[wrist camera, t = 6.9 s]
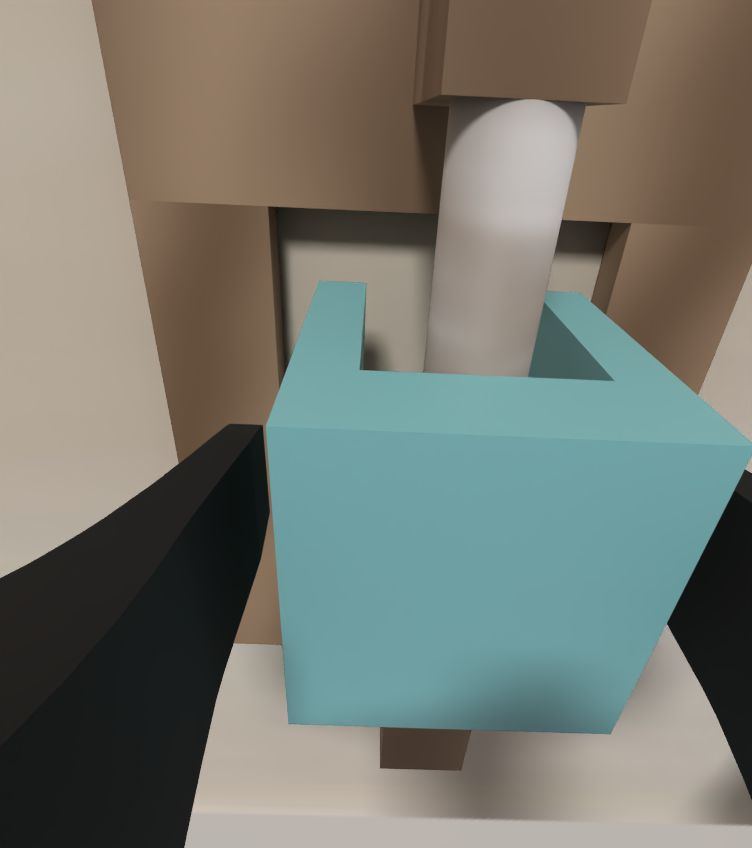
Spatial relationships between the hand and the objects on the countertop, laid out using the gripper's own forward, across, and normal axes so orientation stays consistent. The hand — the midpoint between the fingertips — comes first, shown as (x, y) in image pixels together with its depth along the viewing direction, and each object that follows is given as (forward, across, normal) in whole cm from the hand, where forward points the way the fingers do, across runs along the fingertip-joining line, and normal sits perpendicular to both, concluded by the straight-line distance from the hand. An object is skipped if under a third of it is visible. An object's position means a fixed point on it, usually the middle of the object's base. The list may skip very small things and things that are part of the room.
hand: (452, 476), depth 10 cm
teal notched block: (+3, 0, 0) cm, 3 cm away
